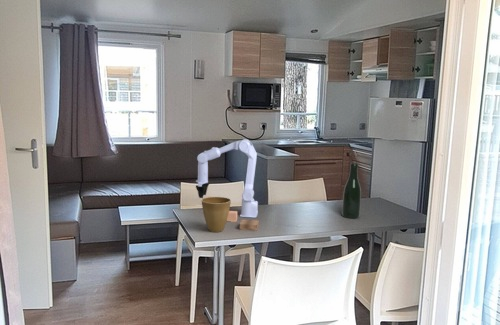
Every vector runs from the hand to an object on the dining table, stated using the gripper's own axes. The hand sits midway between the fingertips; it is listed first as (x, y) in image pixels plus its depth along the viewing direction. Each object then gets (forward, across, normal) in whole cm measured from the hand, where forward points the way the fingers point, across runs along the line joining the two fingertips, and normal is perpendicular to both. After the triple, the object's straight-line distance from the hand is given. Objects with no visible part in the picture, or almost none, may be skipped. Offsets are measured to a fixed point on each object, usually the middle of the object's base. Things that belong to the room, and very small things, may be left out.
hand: (202, 196), depth 265 cm
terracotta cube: (+10, +12, +20) cm, 25 cm away
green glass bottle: (+10, -14, +87) cm, 88 cm away
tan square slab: (+10, +23, +31) cm, 39 cm away
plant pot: (+10, +31, +14) cm, 36 cm away
